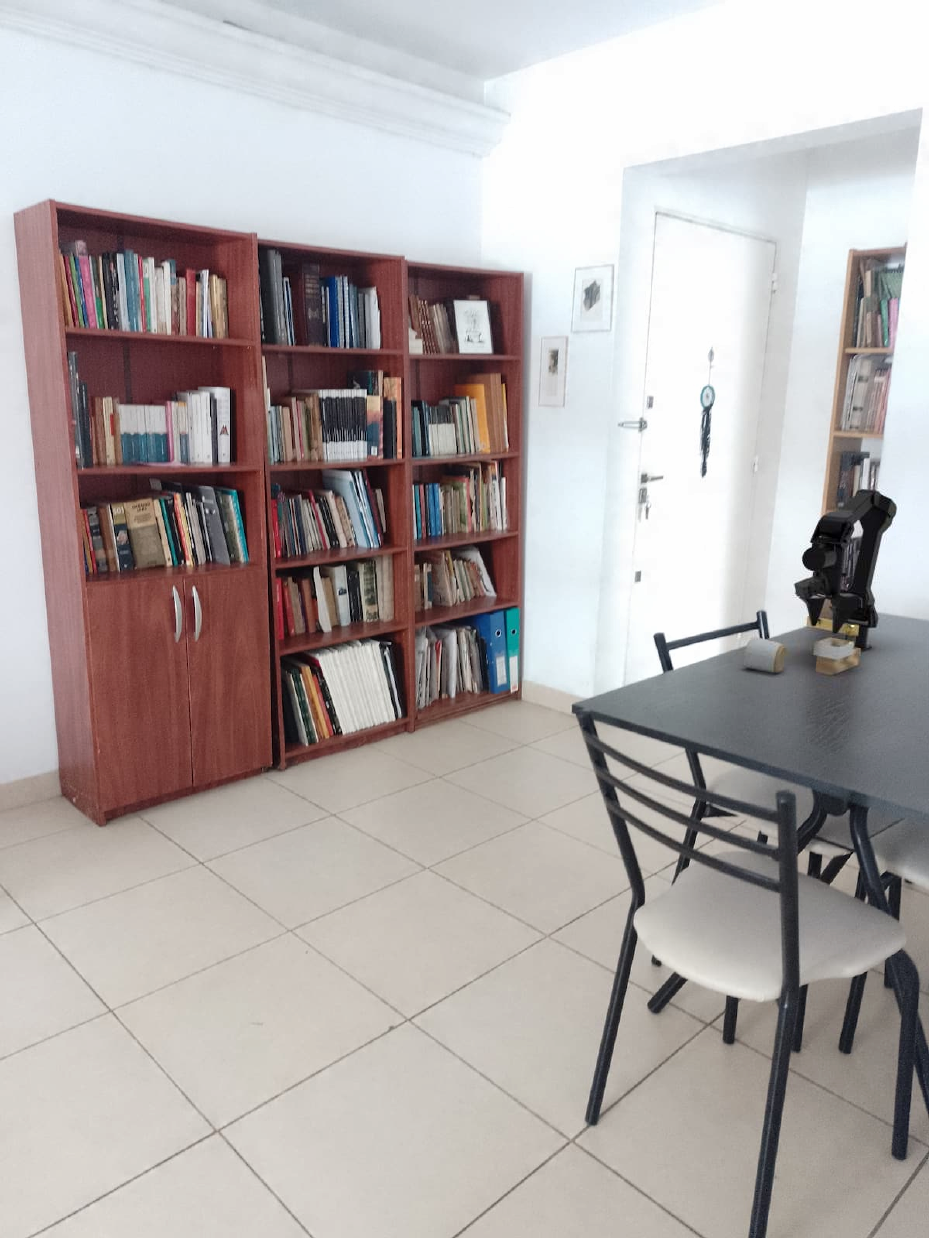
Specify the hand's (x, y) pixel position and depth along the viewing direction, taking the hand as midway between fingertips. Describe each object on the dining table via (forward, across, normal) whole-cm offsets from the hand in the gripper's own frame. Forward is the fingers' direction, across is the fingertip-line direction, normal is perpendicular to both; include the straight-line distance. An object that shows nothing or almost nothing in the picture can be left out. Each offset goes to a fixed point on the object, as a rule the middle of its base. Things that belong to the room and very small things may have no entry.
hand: (824, 629), depth 226 cm
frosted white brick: (+4, +8, -2) cm, 9 cm away
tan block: (+8, +6, 0) cm, 10 cm away
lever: (+1, -2, +4) cm, 4 cm away
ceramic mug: (+9, +4, -18) cm, 20 cm away
